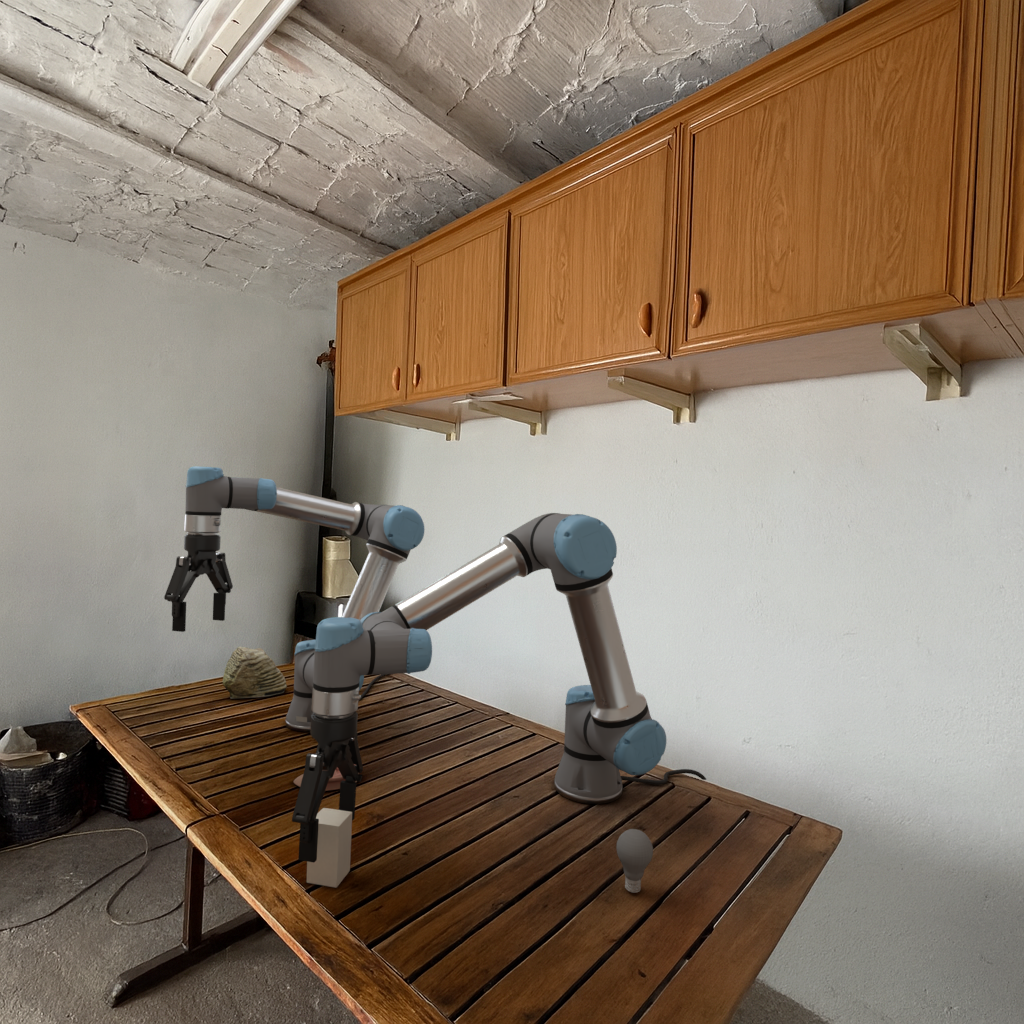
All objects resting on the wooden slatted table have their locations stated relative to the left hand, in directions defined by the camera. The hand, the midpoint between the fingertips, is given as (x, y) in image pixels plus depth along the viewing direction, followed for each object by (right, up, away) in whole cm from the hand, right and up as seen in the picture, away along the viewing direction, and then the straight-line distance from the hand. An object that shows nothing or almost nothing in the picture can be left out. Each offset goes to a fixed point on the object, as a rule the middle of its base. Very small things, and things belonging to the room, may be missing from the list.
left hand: (199, 625), depth 146 cm
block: (+41, -35, -40) cm, 67 cm away
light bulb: (+92, -37, -41) cm, 108 cm away
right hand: (+41, -28, -40) cm, 64 cm away
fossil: (-8, -31, +52) cm, 61 cm away
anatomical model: (+31, -34, -5) cm, 46 cm away
